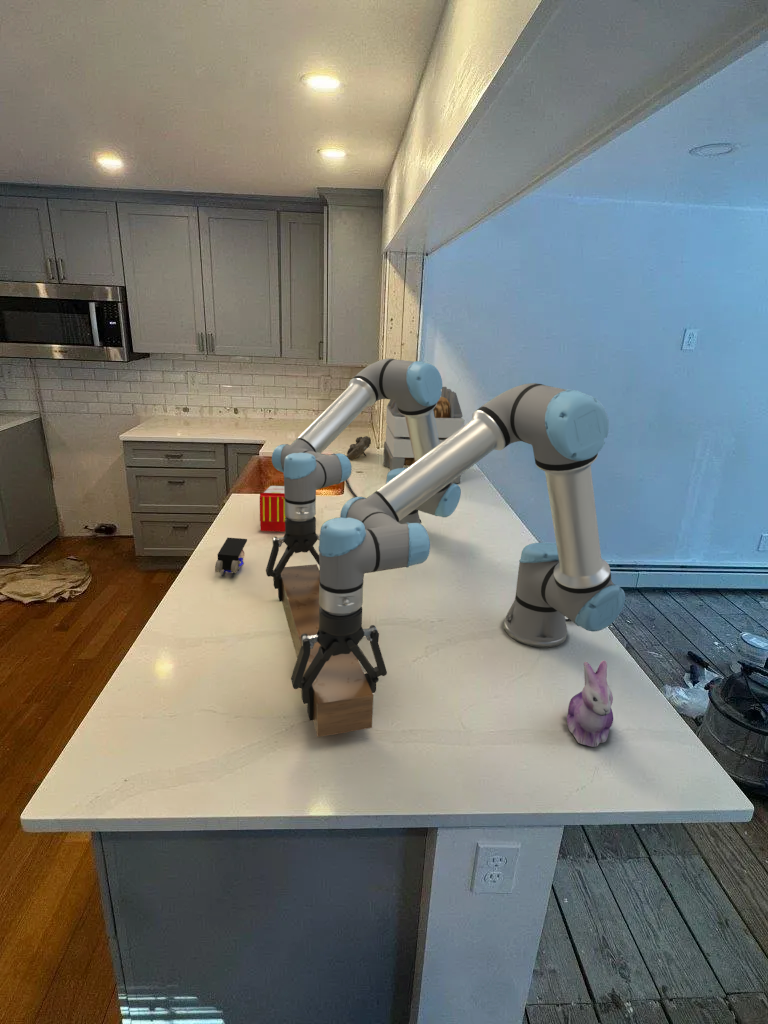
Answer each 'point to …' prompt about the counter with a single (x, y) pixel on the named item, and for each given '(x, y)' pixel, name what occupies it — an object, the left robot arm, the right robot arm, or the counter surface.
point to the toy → (272, 509)
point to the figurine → (591, 708)
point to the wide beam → (341, 680)
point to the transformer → (398, 435)
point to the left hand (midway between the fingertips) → (301, 596)
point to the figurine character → (230, 556)
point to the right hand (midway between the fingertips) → (338, 711)
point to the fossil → (358, 447)
